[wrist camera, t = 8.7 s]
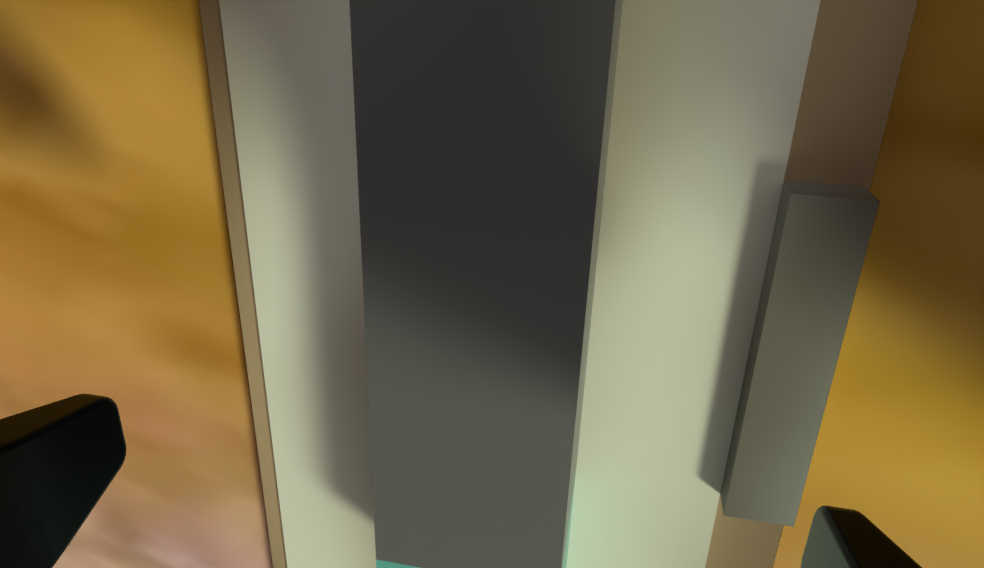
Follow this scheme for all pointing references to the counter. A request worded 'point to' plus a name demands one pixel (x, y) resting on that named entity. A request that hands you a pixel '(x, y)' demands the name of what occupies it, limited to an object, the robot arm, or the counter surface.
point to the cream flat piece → (619, 271)
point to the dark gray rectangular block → (479, 266)
